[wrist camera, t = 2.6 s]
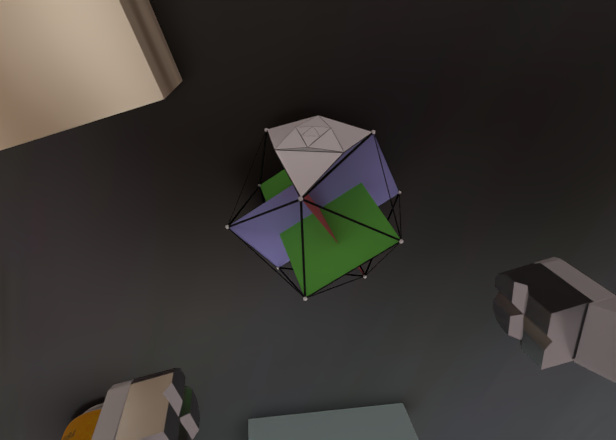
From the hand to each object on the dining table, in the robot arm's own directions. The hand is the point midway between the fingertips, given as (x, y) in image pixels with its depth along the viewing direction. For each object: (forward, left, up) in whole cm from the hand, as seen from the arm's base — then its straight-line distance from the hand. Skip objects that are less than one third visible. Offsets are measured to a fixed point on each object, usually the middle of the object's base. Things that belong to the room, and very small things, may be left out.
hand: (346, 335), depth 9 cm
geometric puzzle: (-1, 0, -11) cm, 11 cm away
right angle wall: (+3, +25, -11) cm, 27 cm away
